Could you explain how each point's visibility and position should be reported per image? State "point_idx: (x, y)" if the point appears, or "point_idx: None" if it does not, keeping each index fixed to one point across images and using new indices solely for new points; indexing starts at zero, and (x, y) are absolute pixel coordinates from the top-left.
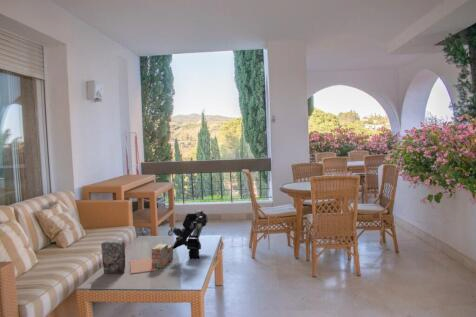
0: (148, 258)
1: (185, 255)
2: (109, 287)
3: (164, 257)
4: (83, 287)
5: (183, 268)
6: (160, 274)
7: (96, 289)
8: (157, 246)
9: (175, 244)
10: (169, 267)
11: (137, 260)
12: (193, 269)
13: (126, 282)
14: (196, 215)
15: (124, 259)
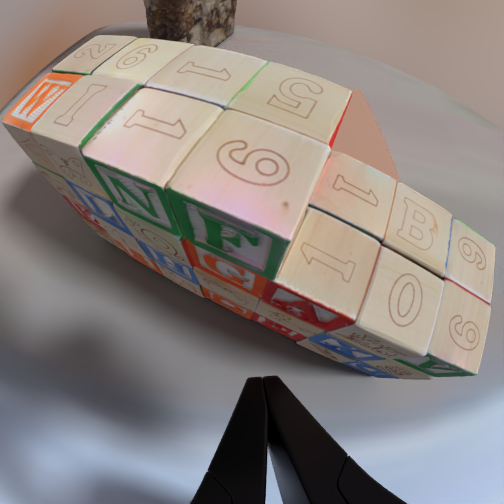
0: (394, 172)
1: (417, 482)
2: (49, 69)
3: (137, 244)
4: (107, 26)
5: (40, 420)
6: (15, 230)
7: (65, 50)
8: (163, 58)
9: (207, 477)
10: (103, 316)
11: (358, 114)
12: (10, 468)
13: None
14: None
15: (170, 11)
